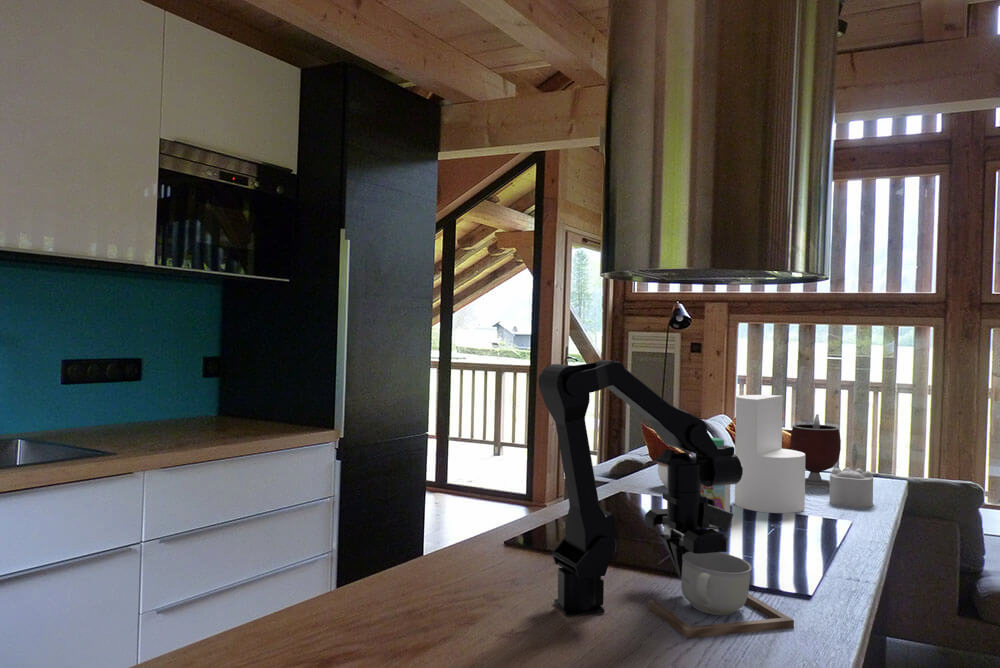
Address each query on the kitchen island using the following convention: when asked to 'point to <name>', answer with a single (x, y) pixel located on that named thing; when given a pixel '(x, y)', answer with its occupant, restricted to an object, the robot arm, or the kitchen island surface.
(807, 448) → the mate gourd
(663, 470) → the lidded jar
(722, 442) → the milk bottle
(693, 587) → the teacup
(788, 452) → the white stepped block
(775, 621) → the frame
